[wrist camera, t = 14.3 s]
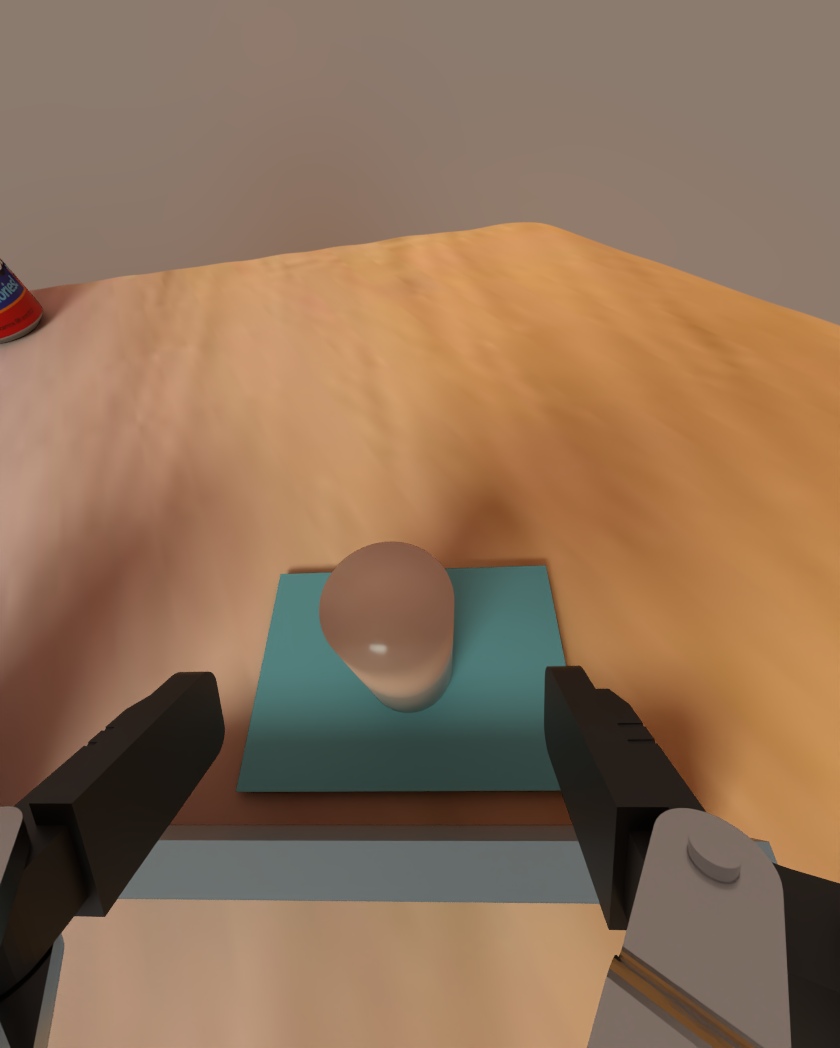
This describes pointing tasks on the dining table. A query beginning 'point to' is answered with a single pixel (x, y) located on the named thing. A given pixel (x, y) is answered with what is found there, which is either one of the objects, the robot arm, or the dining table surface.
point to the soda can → (16, 307)
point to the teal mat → (421, 737)
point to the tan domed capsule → (392, 623)
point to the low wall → (369, 864)
